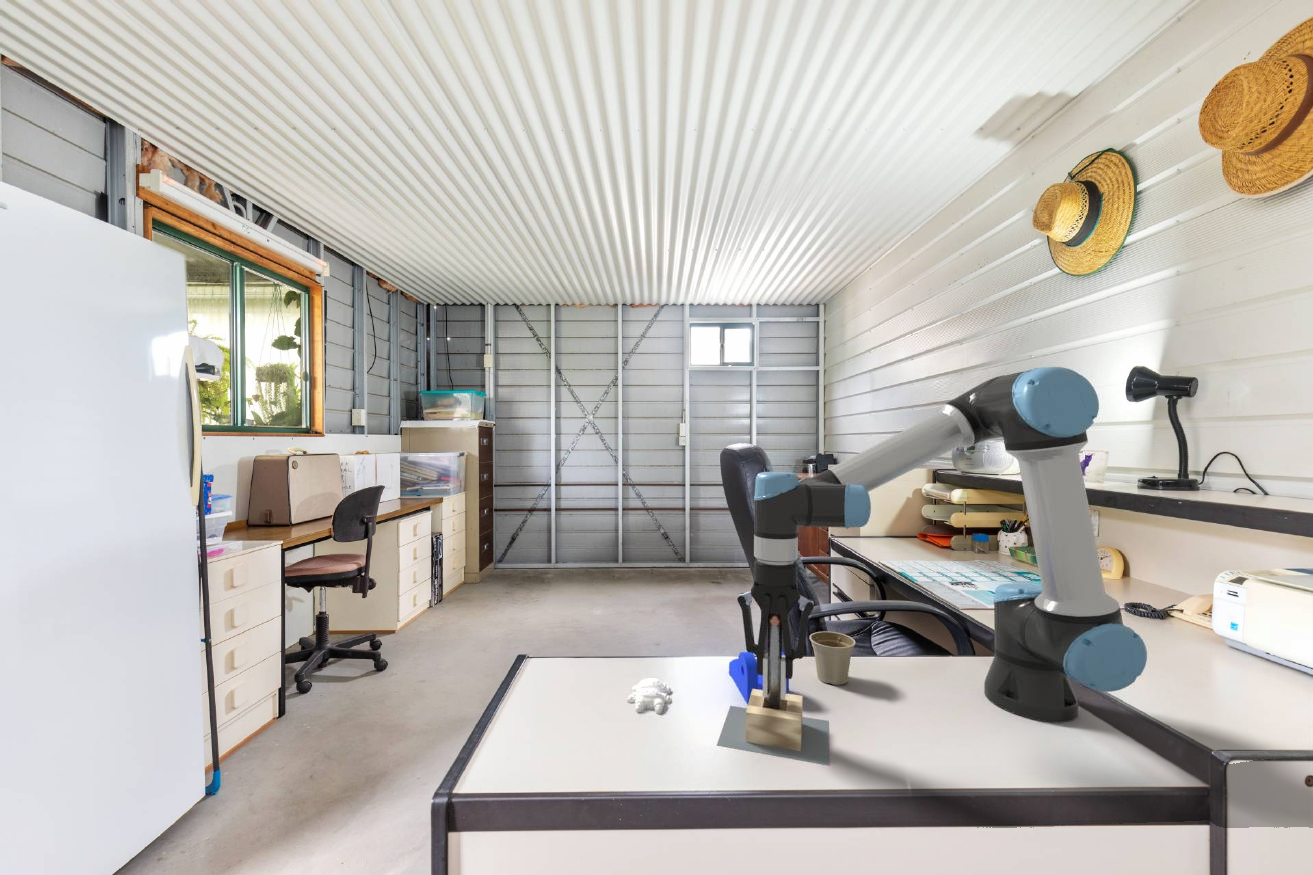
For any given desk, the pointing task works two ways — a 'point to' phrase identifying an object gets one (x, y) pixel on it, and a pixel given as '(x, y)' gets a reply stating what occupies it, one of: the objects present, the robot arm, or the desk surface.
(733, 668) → the bracket
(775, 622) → the copper-tipped rod
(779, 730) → the block with square hole
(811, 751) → the mat
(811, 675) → the desk surface
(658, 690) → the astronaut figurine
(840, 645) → the flower pot
